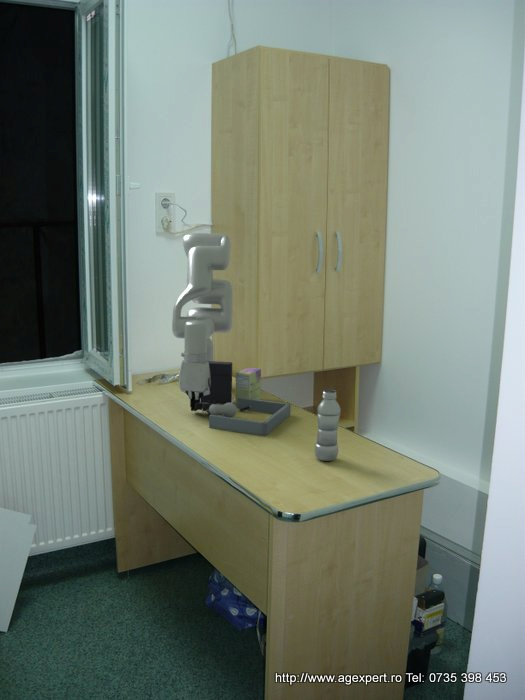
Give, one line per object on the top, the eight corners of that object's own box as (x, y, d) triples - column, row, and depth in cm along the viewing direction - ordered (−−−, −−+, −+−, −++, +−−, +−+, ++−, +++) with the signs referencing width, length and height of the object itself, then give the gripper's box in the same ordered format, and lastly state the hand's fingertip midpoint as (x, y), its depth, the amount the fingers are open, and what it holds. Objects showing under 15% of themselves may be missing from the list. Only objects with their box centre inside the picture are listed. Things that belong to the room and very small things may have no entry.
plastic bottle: (310, 457, 193) (313, 389, 189) (331, 454, 196) (334, 387, 192) (320, 465, 187) (324, 395, 183) (342, 462, 190) (346, 393, 186)
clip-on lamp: (232, 414, 240) (192, 412, 228) (234, 397, 240) (194, 394, 228) (254, 419, 232) (213, 418, 219) (256, 401, 232) (216, 398, 220)
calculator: (231, 401, 247) (232, 361, 244) (230, 405, 242) (231, 364, 239) (202, 400, 248) (202, 360, 245) (200, 403, 243) (200, 362, 240)
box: (246, 397, 253) (247, 366, 251) (260, 399, 251) (261, 368, 248) (234, 404, 244) (235, 372, 241) (248, 406, 241) (249, 374, 239)
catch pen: (238, 408, 239) (238, 397, 238) (290, 415, 232) (290, 403, 232) (209, 427, 217) (209, 415, 216) (265, 436, 210) (265, 423, 209)
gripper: (170, 357, 227) (170, 409, 230) (210, 362, 222) (210, 415, 225) (181, 353, 234) (180, 404, 237) (220, 357, 228) (219, 410, 232)
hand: (195, 409), depth 231 cm, fingers closed
